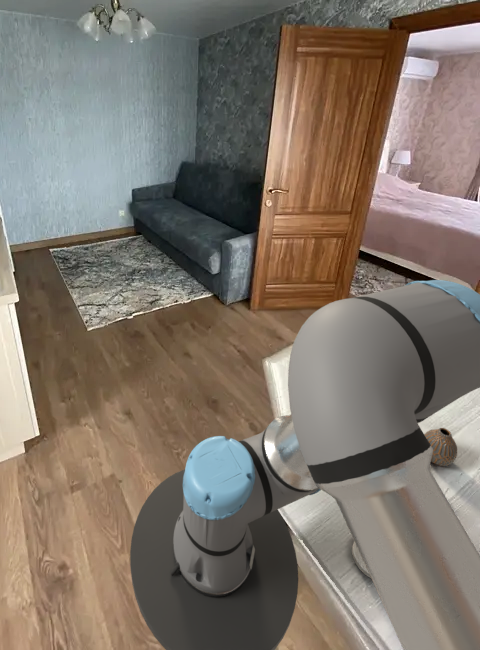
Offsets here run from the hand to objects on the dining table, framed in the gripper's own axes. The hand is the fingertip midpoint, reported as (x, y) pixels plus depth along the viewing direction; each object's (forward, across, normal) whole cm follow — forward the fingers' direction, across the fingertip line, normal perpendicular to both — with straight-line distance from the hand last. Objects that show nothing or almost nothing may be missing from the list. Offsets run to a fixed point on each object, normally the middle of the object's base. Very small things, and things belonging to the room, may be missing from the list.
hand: (436, 533), depth 49 cm
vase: (+30, +27, -23) cm, 47 cm away
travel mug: (+10, 0, -24) cm, 26 cm away
